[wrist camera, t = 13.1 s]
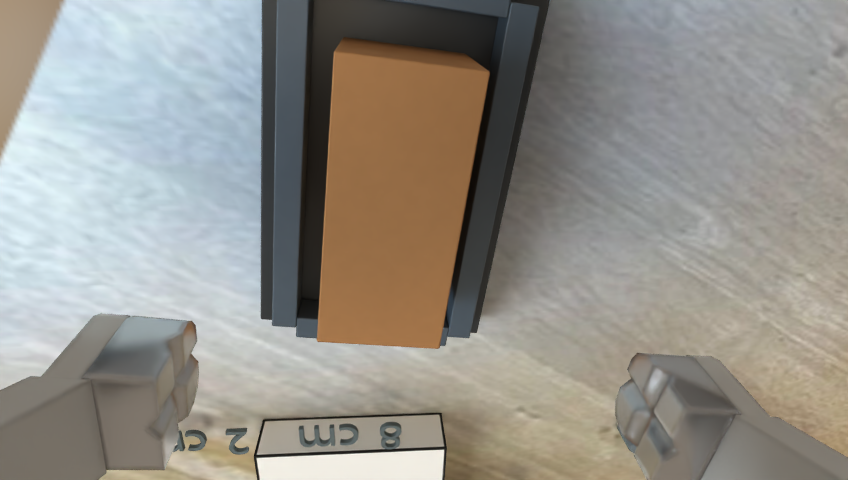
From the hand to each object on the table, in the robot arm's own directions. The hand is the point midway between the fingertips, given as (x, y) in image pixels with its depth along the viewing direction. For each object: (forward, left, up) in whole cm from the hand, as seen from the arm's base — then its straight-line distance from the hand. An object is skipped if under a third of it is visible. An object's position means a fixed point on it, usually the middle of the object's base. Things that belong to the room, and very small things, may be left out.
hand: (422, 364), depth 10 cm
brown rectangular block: (+1, 0, -12) cm, 12 cm away
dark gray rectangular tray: (0, 0, -14) cm, 14 cm away
